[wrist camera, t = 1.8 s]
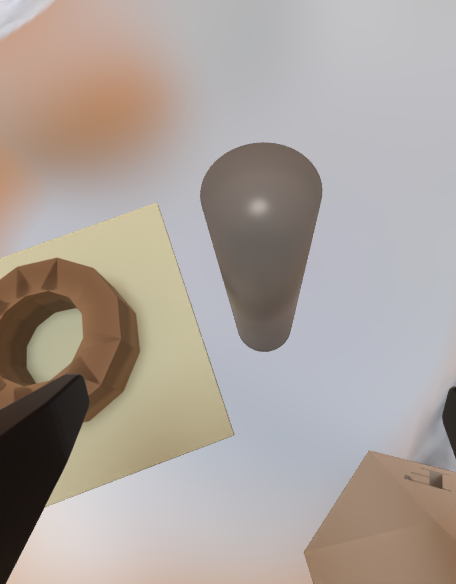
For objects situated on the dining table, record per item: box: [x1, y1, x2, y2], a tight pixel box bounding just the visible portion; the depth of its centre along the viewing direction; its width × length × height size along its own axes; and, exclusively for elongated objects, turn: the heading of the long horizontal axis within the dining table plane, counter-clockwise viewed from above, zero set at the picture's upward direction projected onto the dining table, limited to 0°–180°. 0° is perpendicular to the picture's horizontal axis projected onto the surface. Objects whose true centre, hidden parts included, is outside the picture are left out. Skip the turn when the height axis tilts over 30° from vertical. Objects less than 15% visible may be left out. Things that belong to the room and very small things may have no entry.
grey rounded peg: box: [200, 143, 322, 352], centre depth 15 cm, size 3×3×13 cm
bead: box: [0, 258, 140, 423], centre depth 20 cm, size 9×9×3 cm
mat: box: [0, 203, 234, 507], centre depth 22 cm, size 16×16×1 cm
